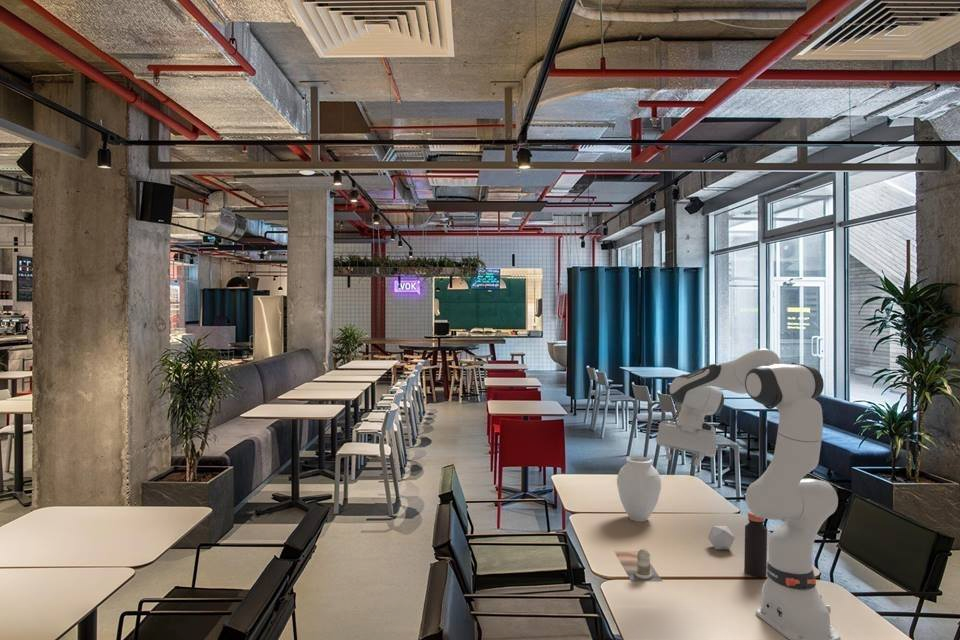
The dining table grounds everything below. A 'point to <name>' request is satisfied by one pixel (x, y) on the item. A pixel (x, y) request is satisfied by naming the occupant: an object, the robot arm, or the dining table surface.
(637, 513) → the vase
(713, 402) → the robot arm
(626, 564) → the game board
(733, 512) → the dining table surface
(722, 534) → the die
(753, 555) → the bottle
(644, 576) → the pawn
